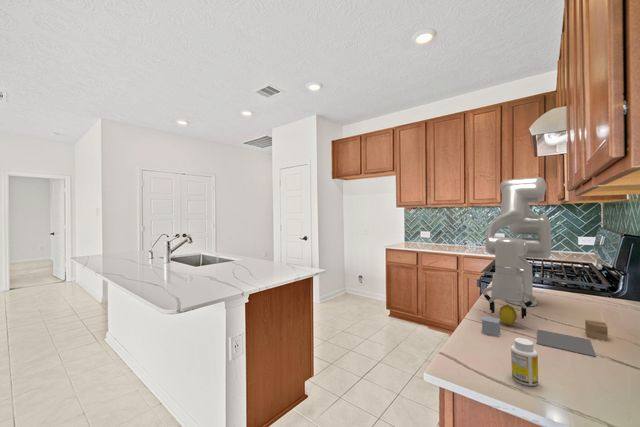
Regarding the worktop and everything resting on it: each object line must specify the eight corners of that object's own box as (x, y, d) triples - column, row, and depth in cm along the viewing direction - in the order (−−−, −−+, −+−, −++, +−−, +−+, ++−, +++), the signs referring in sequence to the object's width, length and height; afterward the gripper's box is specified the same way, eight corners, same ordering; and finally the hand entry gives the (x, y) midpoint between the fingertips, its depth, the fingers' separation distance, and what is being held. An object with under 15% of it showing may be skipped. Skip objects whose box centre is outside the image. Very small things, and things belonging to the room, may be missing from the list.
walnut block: (585, 333, 99) (585, 319, 99) (605, 336, 96) (604, 322, 96) (587, 337, 95) (586, 323, 96) (607, 341, 92) (607, 326, 92)
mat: (537, 330, 102) (537, 329, 102) (590, 340, 93) (590, 339, 93) (536, 344, 91) (536, 343, 91) (596, 357, 82) (596, 356, 82)
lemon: (519, 328, 104) (519, 307, 104) (503, 327, 105) (502, 306, 105) (512, 322, 109) (512, 302, 109) (497, 321, 110) (496, 301, 110)
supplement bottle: (532, 376, 73) (531, 337, 74) (542, 388, 68) (541, 347, 68) (508, 372, 75) (507, 335, 75) (516, 385, 70) (515, 344, 70)
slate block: (484, 329, 104) (484, 315, 104) (500, 332, 101) (500, 318, 101) (482, 333, 100) (482, 320, 100) (498, 337, 97) (498, 323, 97)
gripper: (535, 272, 104) (536, 317, 104) (482, 267, 115) (483, 308, 115) (534, 275, 99) (535, 323, 98) (479, 269, 110) (480, 312, 109)
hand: (507, 315), depth 107 cm, fingers open, 9 cm apart
